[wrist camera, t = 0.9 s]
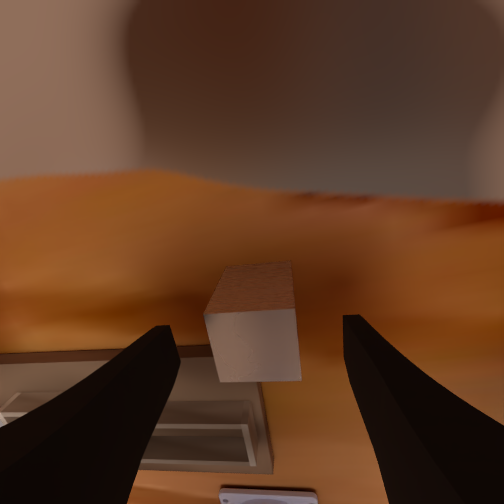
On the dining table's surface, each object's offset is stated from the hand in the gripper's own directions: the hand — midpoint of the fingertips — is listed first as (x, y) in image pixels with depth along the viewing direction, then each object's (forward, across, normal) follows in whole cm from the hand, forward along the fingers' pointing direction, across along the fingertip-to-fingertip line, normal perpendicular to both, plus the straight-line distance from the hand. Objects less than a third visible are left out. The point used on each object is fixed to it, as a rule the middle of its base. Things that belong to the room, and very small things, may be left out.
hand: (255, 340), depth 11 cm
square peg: (+4, 0, 0) cm, 4 cm away
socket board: (+4, +11, +9) cm, 15 cm away
